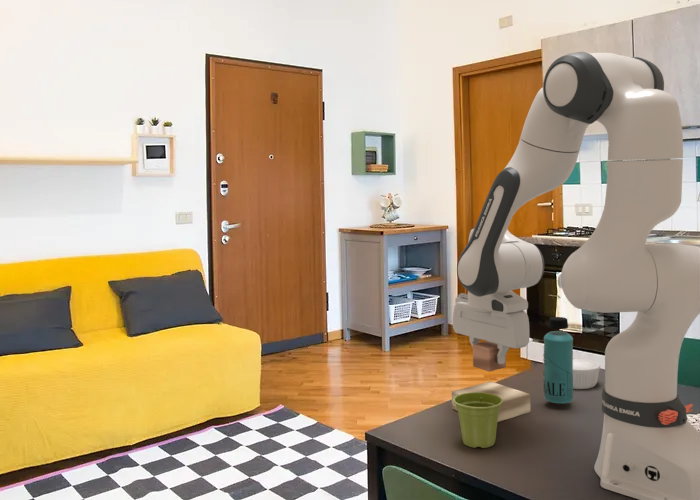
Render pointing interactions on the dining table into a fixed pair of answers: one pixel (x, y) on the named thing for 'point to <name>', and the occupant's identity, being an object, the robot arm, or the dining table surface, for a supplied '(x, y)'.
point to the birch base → (512, 398)
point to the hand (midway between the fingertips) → (489, 359)
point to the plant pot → (478, 417)
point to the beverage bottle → (558, 363)
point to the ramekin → (585, 373)
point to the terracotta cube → (486, 356)
